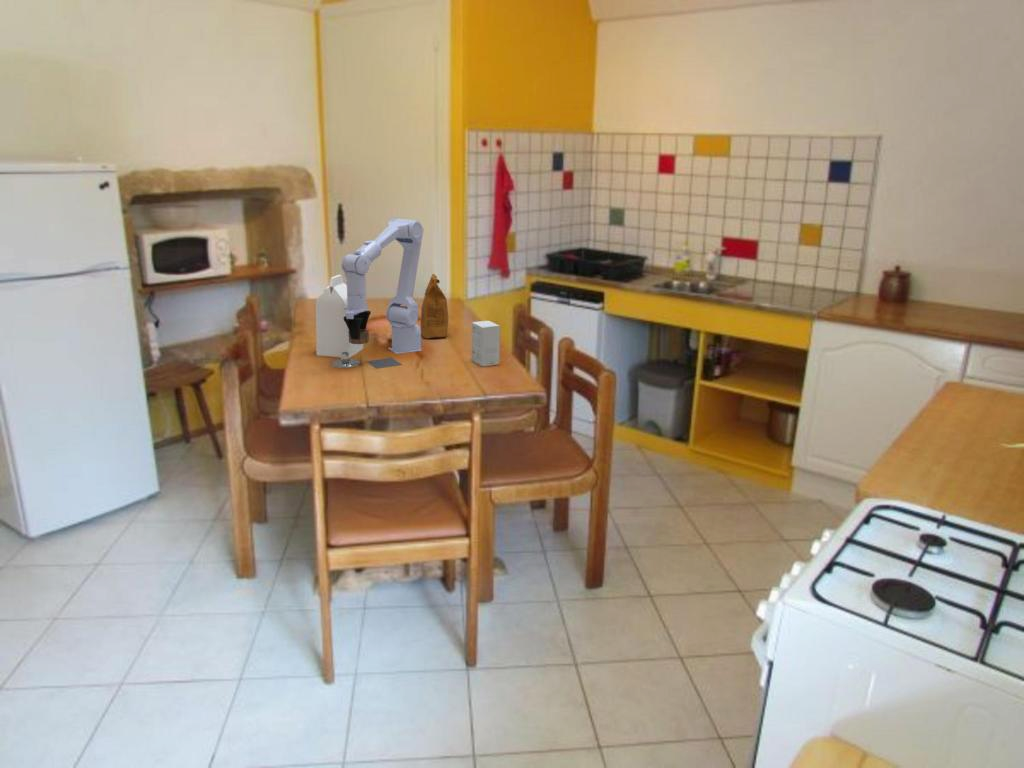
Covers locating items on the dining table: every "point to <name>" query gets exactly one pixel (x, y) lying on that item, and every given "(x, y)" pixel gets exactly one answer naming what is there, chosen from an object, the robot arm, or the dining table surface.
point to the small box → (485, 343)
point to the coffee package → (434, 311)
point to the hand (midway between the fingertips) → (358, 336)
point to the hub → (345, 361)
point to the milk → (333, 321)
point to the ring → (360, 337)
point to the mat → (383, 363)
